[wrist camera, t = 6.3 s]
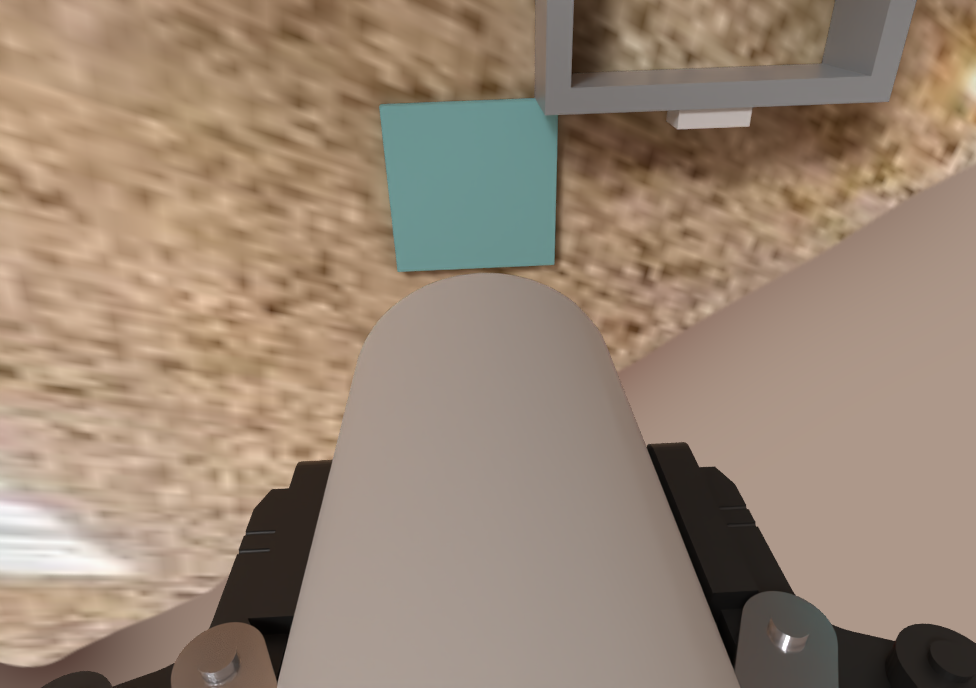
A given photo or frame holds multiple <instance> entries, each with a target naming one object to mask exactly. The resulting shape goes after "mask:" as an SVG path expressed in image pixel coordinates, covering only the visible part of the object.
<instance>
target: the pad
mask: <svg viewBox="0 0 976 688" xmlns="http://www.w3.org/2000/svg"><path fill="white" fill-rule="evenodd" d="M379 109H380V118H381V127H382V136H383V145H384V154H385V163H386V172H387V181H388V190H389V199H390V208H391V217H392V226H393V235H394V244H395V253H396V262H397V271H398V272H404V271H427V270H449V269H471V268H493V267H516V266H538V265H554V258H555V217H556V177H557V136H558V115H545V114H544V113H543V111H542V109H541V108H540V106H539V104H538V103H537V101H536V99H535V98H526V99H500V100H475V101H450V102H424V103H399V104H381V105H380V106H379Z"/></svg>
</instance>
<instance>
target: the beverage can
mask: <svg viewBox="0 0 976 688" xmlns="http://www.w3.org/2000/svg"><path fill="white" fill-rule="evenodd" d="M277 688H740V685H739V683H738V680H737V677H736V675H735V672H734V669H733V667H732V664H731V661H730V659H729V656H728V654H727V651H726V649H725V646H724V644H723V641H722V639H721V636H720V633H719V631H718V628H717V626H716V623H715V621H714V618H713V616H712V613H711V611H710V608H709V605H708V603H707V600H706V598H705V595H704V593H703V590H702V588H701V585H700V582H699V580H698V577H697V575H696V572H695V570H694V567H693V565H692V562H691V560H690V557H689V554H688V552H687V549H686V547H685V544H684V542H683V539H682V537H681V534H680V532H679V529H678V526H677V524H676V521H675V519H674V516H673V514H672V511H671V509H670V506H669V503H668V501H667V498H666V496H665V493H664V491H663V488H662V486H661V483H660V481H659V478H658V475H657V473H656V470H655V468H654V465H653V463H652V460H651V458H650V455H649V453H648V450H647V447H646V445H645V442H644V440H643V437H642V435H641V432H640V430H639V427H638V425H637V422H636V419H635V417H634V414H633V412H632V409H631V407H630V404H629V402H628V399H627V397H626V394H625V391H624V389H623V386H622V384H621V381H620V379H619V376H618V374H617V371H616V368H615V366H614V363H613V361H612V358H611V356H610V353H609V351H608V348H607V346H606V343H605V341H604V339H603V337H602V335H601V333H600V331H599V330H598V328H597V327H596V326H595V324H594V323H593V322H592V321H591V320H590V318H589V317H588V316H587V315H586V314H585V313H584V312H583V311H582V310H581V309H580V307H578V306H577V305H576V304H575V303H574V302H573V301H572V300H570V299H569V298H567V297H566V296H564V295H563V294H561V293H560V292H558V291H556V290H554V289H553V288H551V287H548V286H546V285H544V284H541V283H539V282H536V281H534V280H531V279H527V278H523V277H519V276H514V275H508V274H500V273H474V274H465V275H459V276H454V277H450V278H446V279H443V280H439V281H436V282H433V283H431V284H428V285H426V286H424V287H422V288H420V289H418V290H416V291H414V292H412V293H411V294H409V295H408V296H406V297H405V298H403V299H402V300H400V301H399V302H398V303H396V304H395V305H394V306H393V307H391V308H390V309H389V310H388V311H387V312H386V313H385V314H384V315H383V316H382V317H381V318H380V319H379V321H378V322H377V323H376V324H375V326H374V327H373V329H372V330H371V332H370V333H369V335H368V337H367V338H366V340H365V342H364V344H363V347H362V349H361V352H360V354H359V357H358V360H357V364H356V368H355V372H354V376H353V380H352V384H351V388H350V392H349V396H348V400H347V404H346V408H345V412H344V417H343V421H342V425H341V429H340V433H339V437H338V441H337V445H336V449H335V453H334V457H333V461H332V465H331V469H330V473H329V477H328V481H327V485H326V489H325V493H324V497H323V501H322V505H321V509H320V513H319V517H318V521H317V525H316V529H315V534H314V538H313V542H312V546H311V550H310V554H309V558H308V562H307V566H306V570H305V574H304V578H303V582H302V586H301V590H300V594H299V598H298V602H297V606H296V610H295V614H294V618H293V622H292V626H291V630H290V634H289V638H288V642H287V646H286V650H285V654H284V658H283V662H282V666H281V670H280V674H279V678H278V682H277Z"/></svg>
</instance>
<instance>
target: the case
mask: <svg viewBox="0 0 976 688" xmlns="http://www.w3.org/2000/svg"><path fill="white" fill-rule="evenodd" d="M916 1H917V0H835V5H834V9H833V14H832V18H831V23H830V28H829V32H828V37H827V42H826V46H825V51H824V55H823V60H822V63H821V64H795V65H769V66H743V67H717V68H691V69H665V70H639V71H613V72H588V73H571V70H572V41H573V11H574V0H535V99H536V101H537V103H538V104H539V106H540V108H541V109H542V111H543V113H544V114H545V115H569V114H594V113H619V112H644V111H667V120H666V122H668V123H669V124H670V125H672V126H673V127H675V128H676V129H700V128H725V127H749V125H750V120H751V114H752V108H753V107H769V106H794V105H819V104H845V103H870V102H889V99H890V96H891V92H892V88H893V85H894V81H895V77H896V74H897V70H898V66H899V63H900V59H901V56H902V52H903V48H904V45H905V41H906V37H907V34H908V30H909V26H910V23H911V19H912V15H913V12H914V8H915V4H916Z"/></svg>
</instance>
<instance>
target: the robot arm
mask: <svg viewBox="0 0 976 688" xmlns="http://www.w3.org/2000/svg"><path fill="white" fill-rule="evenodd" d="M647 450H648V453H649V455H650V458H651V460H652V463H653V465H654V468H655V470H656V473H657V475H658V478H659V481H660V483H661V486H662V488H663V491H664V493H665V496H666V498H667V501H668V503H669V506H670V509H671V511H672V514H673V516H674V519H675V521H676V524H677V526H678V529H679V532H680V534H681V537H682V539H683V542H684V544H685V547H686V549H687V552H688V554H689V557H690V560H691V562H692V565H693V567H694V570H695V572H696V575H697V577H698V580H699V582H700V585H701V588H702V590H703V593H704V595H705V598H706V600H707V603H708V605H709V608H710V611H711V613H712V616H713V618H714V621H715V623H716V626H717V628H718V631H719V633H720V636H721V639H722V641H723V644H724V646H725V649H726V651H727V654H728V656H729V659H730V661H731V664H732V667H733V669H734V672H735V675H736V677H737V680H738V683H739V685H740V688H976V643H974V642H973V641H971V640H970V639H968V638H967V637H965V636H963V635H961V634H959V633H957V632H955V631H953V630H950V629H948V628H944V627H942V626H938V625H932V624H914V625H911V626H908V627H907V628H904V629H903V630H902V631H901V632H900V633H899V635H898V637H897V639H896V641H892V640H887V639H883V638H878V637H874V636H870V635H865V634H861V633H856V632H852V631H849V630H845V629H842V628H839V627H837V626H834V625H832V624H831V623H830V622H829V620H828V619H827V618H826V616H825V615H824V614H823V613H822V612H821V611H820V610H819V609H817V608H816V607H815V606H814V605H812V604H811V603H809V602H807V601H806V600H804V599H802V598H800V597H798V596H796V595H795V594H794V592H793V591H792V589H791V587H790V585H789V584H788V582H787V580H786V578H785V576H784V574H783V573H782V571H781V569H780V567H779V565H778V563H777V561H776V560H775V558H774V556H773V554H772V552H771V550H770V548H769V546H768V545H767V543H766V541H765V539H764V537H763V535H762V534H761V532H760V530H759V528H758V527H756V525H755V521H754V519H753V517H752V515H751V513H750V511H749V510H748V509H747V508H746V504H745V502H744V500H743V498H742V496H741V495H740V493H739V491H738V489H737V487H736V485H735V484H734V483H733V482H732V481H730V479H728V478H727V477H726V476H725V475H724V474H723V473H721V472H720V471H719V470H718V469H717V468H716V467H699V466H698V464H697V462H696V460H695V458H694V456H693V454H692V451H691V450H690V448H689V446H688V444H687V443H684V442H681V443H661V444H648V445H647ZM332 461H333V460H321V461H302V462H299V463H298V464H297V466H296V468H295V471H294V474H293V478H292V481H291V484H290V487H289V488H287V489H272V490H271V491H270V492H269V493H268V494H267V495H266V496H265V497H264V498H263V500H262V501H261V502H260V503H259V504H258V505H257V506H256V507H255V509H254V510H253V513H252V516H251V518H250V521H249V524H248V526H247V529H246V535H245V536H244V537H243V540H242V543H241V545H240V548H239V554H237V556H236V559H235V561H234V564H233V567H232V570H231V572H230V575H229V578H228V580H227V583H226V586H225V588H224V591H223V594H222V596H221V599H220V602H219V605H218V607H217V610H216V613H215V615H214V618H213V621H212V623H211V626H210V628H209V629H208V630H206V631H204V632H203V633H201V634H200V635H198V636H197V637H196V638H194V639H193V640H192V641H191V642H190V643H189V644H188V645H187V646H186V647H185V648H184V649H183V650H182V652H181V653H180V654H179V656H178V658H177V660H176V661H175V663H173V664H172V665H170V666H168V667H166V668H163V669H161V670H158V671H156V672H153V673H150V674H147V675H144V676H142V677H139V678H136V679H133V680H130V681H128V682H125V683H122V684H119V685H116V686H113V687H112V686H111V684H110V682H109V681H108V680H107V678H106V677H104V676H103V675H101V674H99V673H96V672H91V671H81V672H75V673H71V674H68V675H64V676H62V677H60V678H57V679H55V680H53V681H51V682H50V683H48V684H46V685H45V686H43V687H42V688H277V682H278V678H279V674H280V670H281V666H282V662H283V658H284V654H285V650H286V646H287V642H288V638H289V634H290V630H291V626H292V622H293V618H294V614H295V610H296V606H297V602H298V598H299V594H300V590H301V586H302V582H303V578H304V574H305V570H306V566H307V562H308V558H309V554H310V550H311V546H312V542H313V538H314V534H315V529H316V525H317V521H318V517H319V513H320V509H321V505H322V501H323V497H324V493H325V489H326V485H327V481H328V477H329V473H330V469H331V465H332Z"/></svg>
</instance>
